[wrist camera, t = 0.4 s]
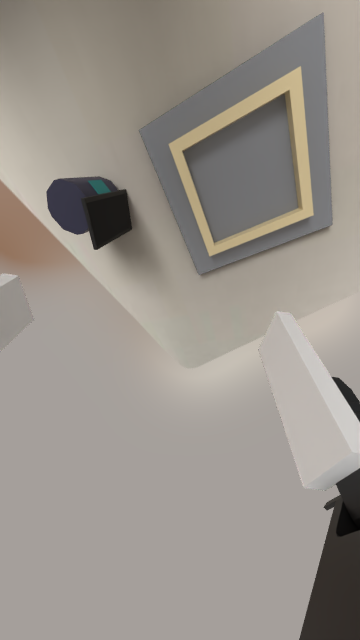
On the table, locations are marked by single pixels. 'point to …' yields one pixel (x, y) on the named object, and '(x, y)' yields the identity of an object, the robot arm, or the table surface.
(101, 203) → the speaker
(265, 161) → the mount board
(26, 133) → the table surface
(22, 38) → the table surface
